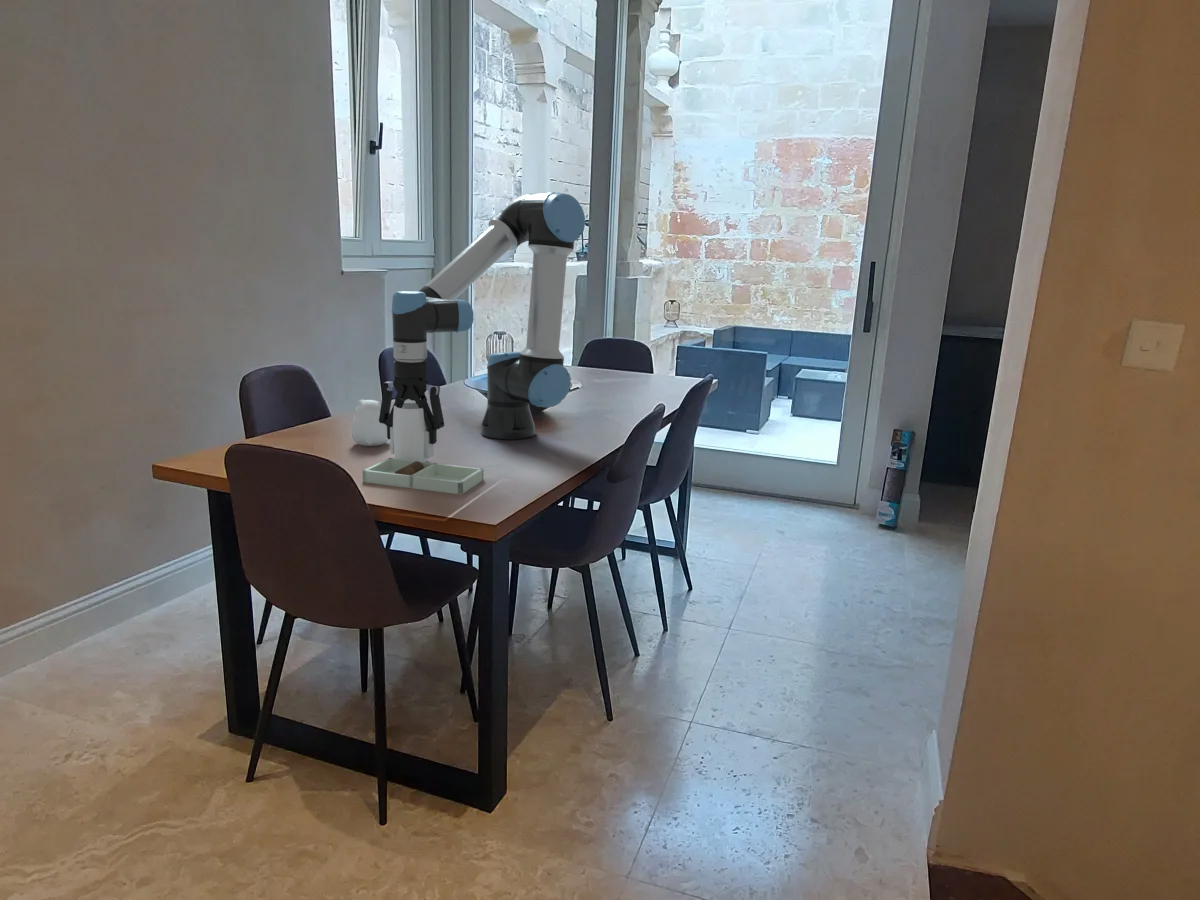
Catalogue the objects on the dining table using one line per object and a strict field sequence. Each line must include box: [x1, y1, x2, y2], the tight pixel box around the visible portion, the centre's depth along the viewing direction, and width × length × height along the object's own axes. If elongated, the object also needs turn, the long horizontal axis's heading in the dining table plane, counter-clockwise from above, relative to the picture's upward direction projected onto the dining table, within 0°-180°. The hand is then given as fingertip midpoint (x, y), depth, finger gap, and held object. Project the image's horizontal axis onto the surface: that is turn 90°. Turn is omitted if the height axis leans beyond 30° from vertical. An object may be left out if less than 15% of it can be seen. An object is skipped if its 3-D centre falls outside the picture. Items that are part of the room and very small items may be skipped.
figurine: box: [351, 399, 390, 447], centre depth 201 cm, size 10×10×12 cm
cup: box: [393, 402, 430, 462], centre depth 185 cm, size 8×8×14 cm
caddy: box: [362, 457, 484, 495], centre depth 173 cm, size 12×23×3 cm, turn 75°
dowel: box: [395, 461, 424, 475], centre depth 174 cm, size 8×3×3 cm
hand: (412, 454), depth 187 cm, fingers closed on cup, 8 cm apart
